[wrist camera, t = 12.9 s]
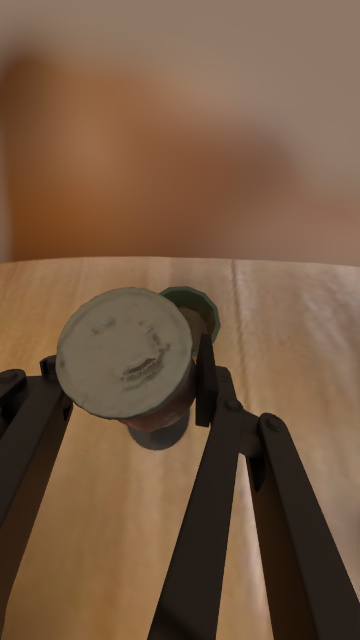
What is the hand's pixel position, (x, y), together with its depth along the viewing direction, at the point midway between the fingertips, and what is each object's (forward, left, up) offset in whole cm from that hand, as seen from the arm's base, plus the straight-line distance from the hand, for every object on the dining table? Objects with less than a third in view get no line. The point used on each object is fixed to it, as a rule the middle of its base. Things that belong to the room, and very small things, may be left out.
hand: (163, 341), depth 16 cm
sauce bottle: (+3, +3, -10) cm, 10 cm away
